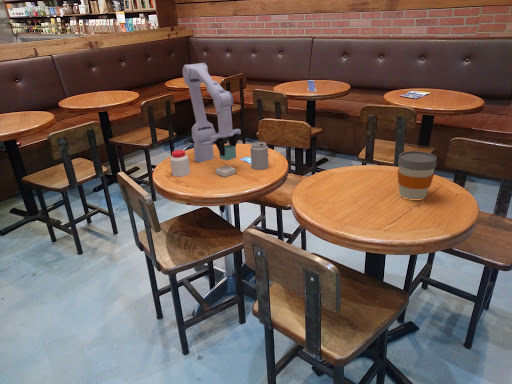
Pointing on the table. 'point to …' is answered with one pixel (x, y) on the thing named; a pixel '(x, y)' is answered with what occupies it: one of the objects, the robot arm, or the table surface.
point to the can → (259, 156)
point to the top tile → (225, 171)
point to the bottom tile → (227, 176)
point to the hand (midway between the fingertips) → (227, 153)
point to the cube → (229, 152)
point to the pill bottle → (179, 163)
